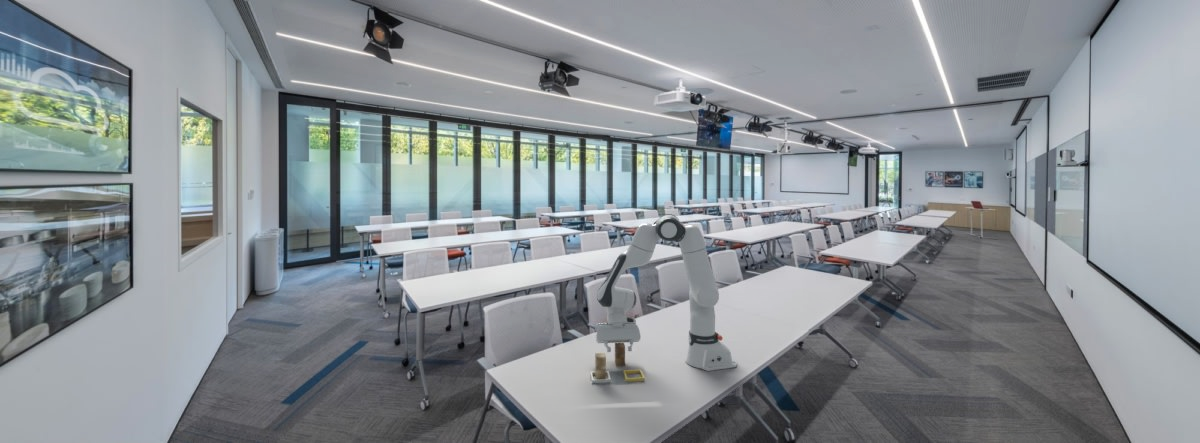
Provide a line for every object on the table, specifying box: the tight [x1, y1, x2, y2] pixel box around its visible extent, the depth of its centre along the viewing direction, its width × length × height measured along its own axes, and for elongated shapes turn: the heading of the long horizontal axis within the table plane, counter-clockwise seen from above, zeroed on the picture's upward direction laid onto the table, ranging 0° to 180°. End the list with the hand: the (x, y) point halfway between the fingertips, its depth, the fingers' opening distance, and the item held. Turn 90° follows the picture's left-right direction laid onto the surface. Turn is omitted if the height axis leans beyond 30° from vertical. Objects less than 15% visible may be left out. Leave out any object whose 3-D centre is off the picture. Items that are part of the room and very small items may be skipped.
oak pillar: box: [594, 352, 607, 379], centre depth 179 cm, size 4×4×10 cm
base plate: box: [589, 369, 647, 387], centre depth 180 cm, size 22×12×2 cm, turn 96°
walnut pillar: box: [614, 342, 626, 367], centre depth 193 cm, size 4×4×10 cm
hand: (619, 351), depth 193 cm, fingers open, 8 cm apart
